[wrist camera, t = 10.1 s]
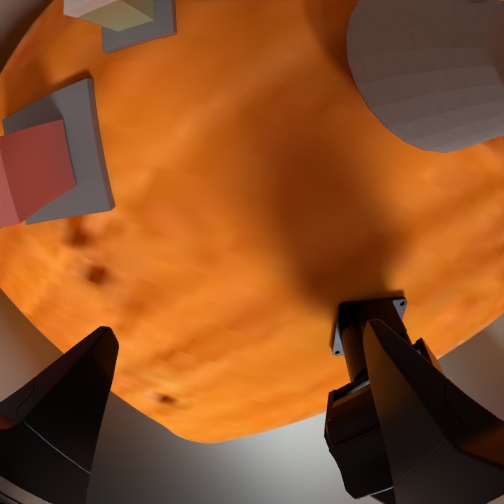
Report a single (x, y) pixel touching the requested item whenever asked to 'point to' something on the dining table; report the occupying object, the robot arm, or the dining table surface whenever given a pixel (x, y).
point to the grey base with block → (126, 20)
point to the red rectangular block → (33, 170)
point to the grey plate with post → (71, 149)
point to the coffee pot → (431, 69)
